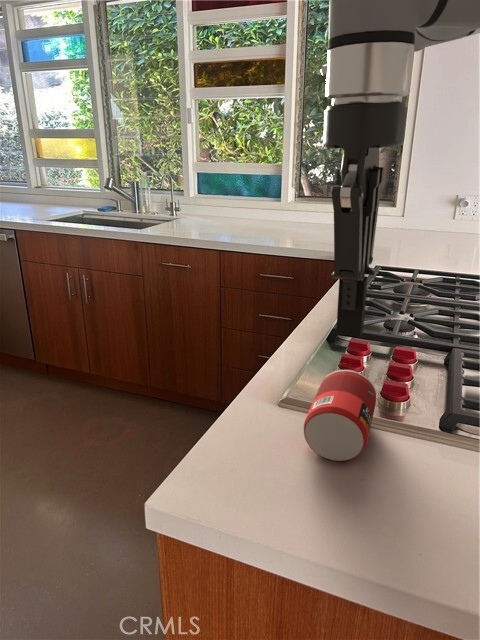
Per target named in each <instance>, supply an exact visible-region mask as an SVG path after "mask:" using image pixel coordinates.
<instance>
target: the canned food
mask: <svg viewBox="0 0 480 640" xmlns="http://www.w3.org/2000/svg"><path fill="white" fill-rule="evenodd" d="M376 404H377V391H376V388H375V385H374V384H373V382H372V381H371V380H370V379H369V378H368V377H367V376H365V374H362V373H361V372H359V371H356V370H353V369H339V370H334V371H332V372H330V373H329V374H327V375H326V376H325V377H324V379H323V380H322V382H321V383H320V385H319V387H318V389H317V392H316V394H315V395H314V399H313V401H312V403H311V405H310V408H309V411H308V412H307V415H306V417H305V419H304V422H303V434H304V439H305V441H306V443H307V445H308V446H309V448H310V449H311V450H312V451H313V452H314V453H316V454H317V455H319V456H320V457H322V458H324V459H327V460H330V461H333V462H335V461H336V462H346V461H350V460H353V459H355V458H356V457H358V456H359V455H360V454H361V453H362V452H363V451H364V450H365V448H366V446H367V444H368V440H369V437H370V432H371V427H372V423H373V418H374V413H375V409H376Z"/></svg>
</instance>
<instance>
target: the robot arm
mask: <svg viewBox="0 0 480 640" xmlns="http://www.w3.org/2000/svg"><path fill="white" fill-rule="evenodd" d="M328 1H329V2H328V39H327V41H328V43H327V57H326V58H327V59H326V60H327V64H324V65H322V67H321V69H320V73H321V75H322V76H323V77H326V79H325V81H326V82H325V83H326V84H325V97H326V98H327V100H331V105H329V106H327V107H326V109H324V116H323V117H324V118H323V120H324V121H323V144H324V146H325V147H326V148H329V149H342V150H343V155H342V160H341V166H340V168H339V167H338V168H337V170H336V177H335V178H336V179H335V185H333V186H332V188H331V190H330V191H331V192H330V196H331V200H332V201H331V202H332V209H333V257H334V259H333V261H334V262H333V263H334V265H333V266H334V267H333V268H334V269H333V270H334V271H333V272H332V273H331V279H333V280H335V279H336V280H339V281H338V293H337V294H338V297H337V312H336V313H337V314H336V329H335V331H336V332H335V334H338V335H339V334H340V335H345V336H346V335H347V336H352V337H359V338H360V337H362V335H363V333H364V326H365V314H366V302H367V301H366V300H367V290H368V289H367V288H368V278H369V277H368V276H375V275H376V270H377V268H375V267H370V265H372V264H373V261H374V256H373V255H374V247H375V239H376V232H377V231H376V230H377V223H378V215H379V206H380V198H381V192H382V187H383V182H384V180H385V166H383V165H381V166H380V149H382V148H383V149H384V148H395V147H399V146H402V144H403V143H404V142H405V135H406V127H407V117H408V106H406V103H404V102H403V98H404V97H406V96H408V95H409V94H410V93H411V85H412V73H413V64H414V53H416V52H419V51H422V50H423V49H424V48H428V47H432V46H436V45H440V44H444V43H449V42H453V41H456V40H461V39H463V38H466V37H470V36H474V35H478V34H480V0H328Z"/></svg>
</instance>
